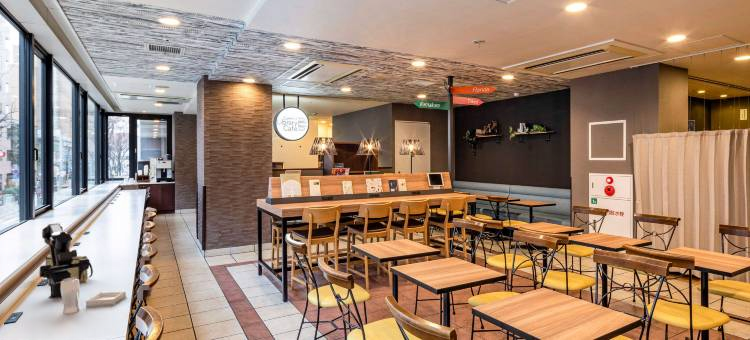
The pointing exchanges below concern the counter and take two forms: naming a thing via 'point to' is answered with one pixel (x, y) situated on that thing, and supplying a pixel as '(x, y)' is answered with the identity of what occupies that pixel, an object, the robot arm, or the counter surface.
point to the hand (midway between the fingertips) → (67, 282)
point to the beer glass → (70, 294)
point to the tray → (106, 299)
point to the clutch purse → (73, 270)
